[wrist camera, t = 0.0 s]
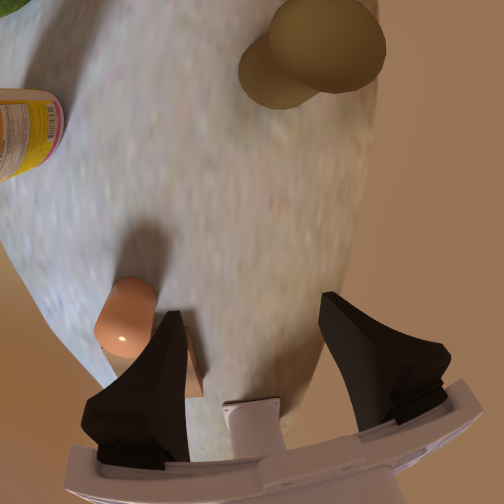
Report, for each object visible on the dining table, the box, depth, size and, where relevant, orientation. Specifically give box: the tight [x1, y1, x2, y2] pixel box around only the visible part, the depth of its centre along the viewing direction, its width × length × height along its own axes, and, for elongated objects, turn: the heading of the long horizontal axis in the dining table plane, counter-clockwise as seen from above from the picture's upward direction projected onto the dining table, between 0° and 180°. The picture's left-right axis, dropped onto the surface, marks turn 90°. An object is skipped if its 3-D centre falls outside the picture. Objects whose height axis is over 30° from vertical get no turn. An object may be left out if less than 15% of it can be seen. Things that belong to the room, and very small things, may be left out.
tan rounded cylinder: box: [94, 277, 157, 358], centre depth 21 cm, size 5×5×6 cm
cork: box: [239, 0, 386, 110], centre depth 12 cm, size 6×6×11 cm
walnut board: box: [101, 327, 203, 398], centre depth 26 cm, size 9×9×2 cm
